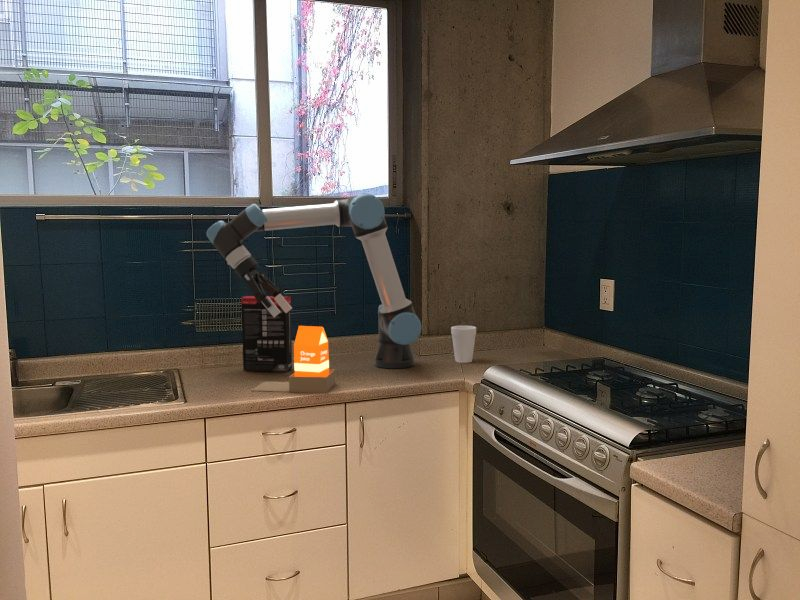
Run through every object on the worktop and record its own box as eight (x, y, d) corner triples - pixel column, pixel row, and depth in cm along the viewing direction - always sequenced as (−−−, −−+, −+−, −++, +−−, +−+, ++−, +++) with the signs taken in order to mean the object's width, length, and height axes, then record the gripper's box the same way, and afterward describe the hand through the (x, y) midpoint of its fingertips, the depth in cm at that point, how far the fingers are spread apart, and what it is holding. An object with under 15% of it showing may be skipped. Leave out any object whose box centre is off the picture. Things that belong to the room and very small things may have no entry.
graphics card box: (293, 368, 255) (291, 295, 252) (288, 372, 248) (286, 297, 245) (248, 368, 257) (245, 295, 254) (242, 372, 250) (239, 297, 247)
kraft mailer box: (335, 384, 230) (335, 369, 230) (327, 392, 219) (326, 377, 218) (264, 382, 233) (263, 368, 233) (252, 391, 222) (251, 376, 221)
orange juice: (319, 390, 220) (318, 328, 217) (294, 389, 222) (292, 327, 220) (329, 385, 227) (328, 324, 225) (305, 383, 230) (303, 323, 227)
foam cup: (480, 360, 266) (480, 326, 264) (469, 364, 258) (469, 330, 257) (458, 357, 271) (458, 324, 269) (446, 361, 263) (446, 328, 262)
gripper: (247, 268, 241) (285, 316, 241) (220, 271, 216) (263, 324, 216) (263, 255, 240) (301, 302, 240) (238, 256, 215) (280, 308, 215)
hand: (283, 312), depth 228 cm, fingers open, 13 cm apart
